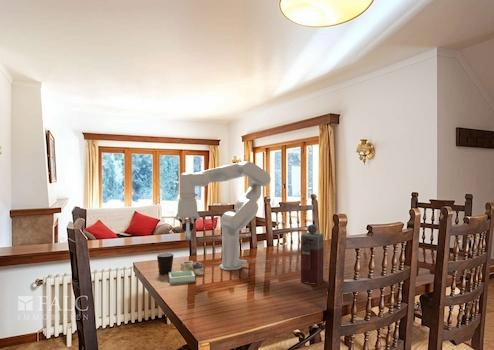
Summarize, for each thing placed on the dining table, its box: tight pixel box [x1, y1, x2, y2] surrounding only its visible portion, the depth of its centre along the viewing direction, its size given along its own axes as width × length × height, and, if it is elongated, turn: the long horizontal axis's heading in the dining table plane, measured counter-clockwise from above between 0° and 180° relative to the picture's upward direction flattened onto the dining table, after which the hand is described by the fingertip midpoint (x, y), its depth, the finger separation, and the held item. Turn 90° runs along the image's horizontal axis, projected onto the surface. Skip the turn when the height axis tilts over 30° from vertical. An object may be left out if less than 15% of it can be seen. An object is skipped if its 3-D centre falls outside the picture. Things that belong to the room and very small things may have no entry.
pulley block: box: [180, 260, 204, 276], centre depth 178 cm, size 11×7×6 cm, turn 107°
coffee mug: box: [156, 252, 175, 276], centre depth 179 cm, size 12×9×10 cm
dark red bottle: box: [300, 224, 324, 285], centre depth 165 cm, size 9×11×28 cm
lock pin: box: [184, 218, 192, 241], centre depth 177 cm, size 3×3×11 cm
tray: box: [168, 270, 196, 285], centre depth 167 cm, size 12×10×3 cm
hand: (187, 230), depth 177 cm, fingers closed on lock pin, 3 cm apart
